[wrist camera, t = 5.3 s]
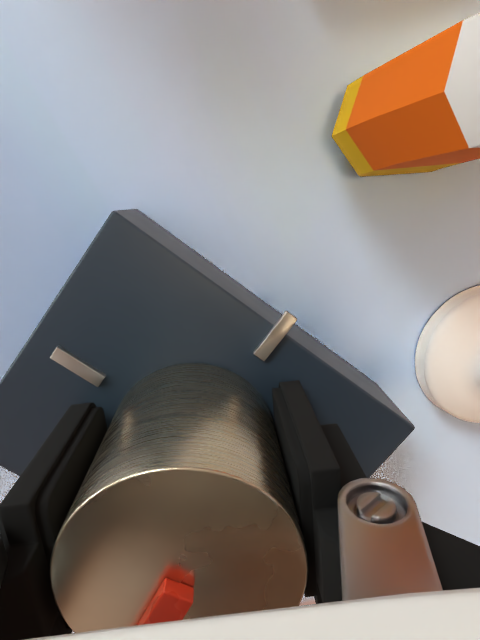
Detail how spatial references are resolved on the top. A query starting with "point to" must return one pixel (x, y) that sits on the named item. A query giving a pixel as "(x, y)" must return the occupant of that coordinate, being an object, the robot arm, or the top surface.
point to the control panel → (174, 345)
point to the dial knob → (181, 509)
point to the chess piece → (452, 356)
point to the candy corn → (416, 108)
